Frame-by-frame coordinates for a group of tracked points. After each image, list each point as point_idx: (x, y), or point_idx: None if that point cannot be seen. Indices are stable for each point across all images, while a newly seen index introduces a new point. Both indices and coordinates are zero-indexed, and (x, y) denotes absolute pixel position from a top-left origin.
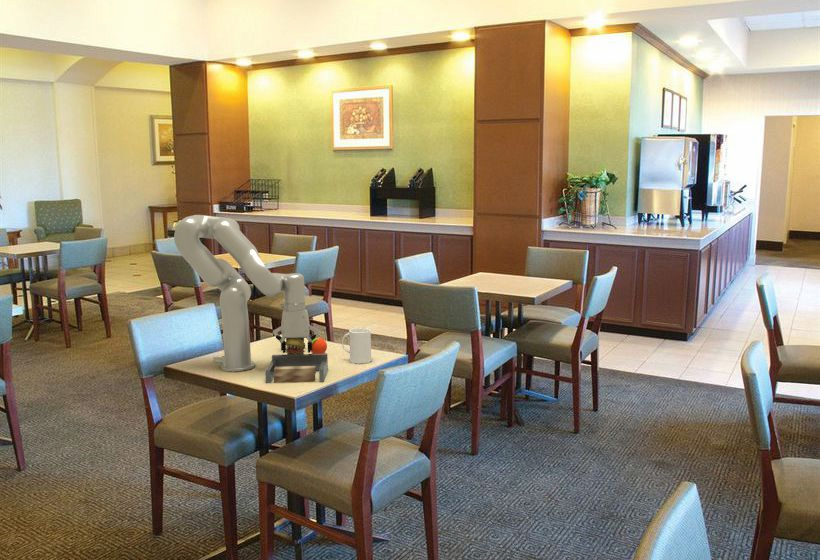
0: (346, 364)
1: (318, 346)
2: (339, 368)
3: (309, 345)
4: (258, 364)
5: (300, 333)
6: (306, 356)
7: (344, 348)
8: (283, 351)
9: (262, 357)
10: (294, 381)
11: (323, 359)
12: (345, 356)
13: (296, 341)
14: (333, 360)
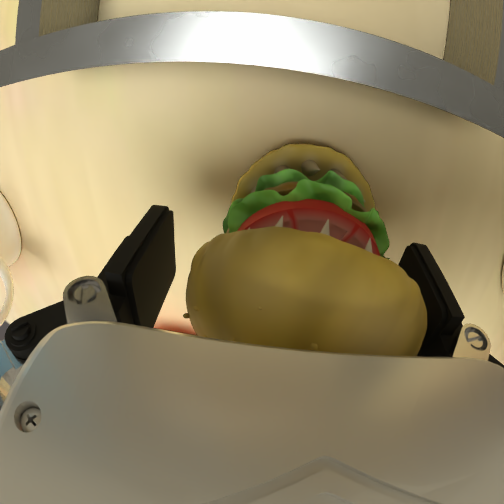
0: (13, 171)
1: None
2: (24, 96)
3: (122, 248)
4: (486, 270)
5: (170, 417)
6: (167, 16)
7: (7, 286)
8: (424, 250)
9: None
10: None
11: (35, 22)
12: (59, 297)
13: (293, 289)
14: (83, 253)
